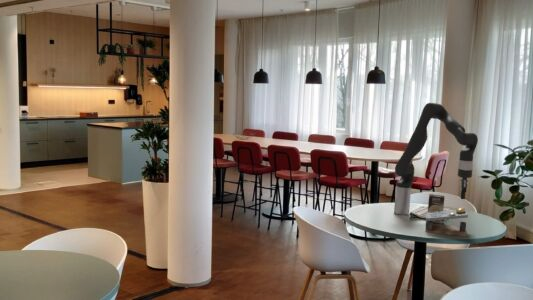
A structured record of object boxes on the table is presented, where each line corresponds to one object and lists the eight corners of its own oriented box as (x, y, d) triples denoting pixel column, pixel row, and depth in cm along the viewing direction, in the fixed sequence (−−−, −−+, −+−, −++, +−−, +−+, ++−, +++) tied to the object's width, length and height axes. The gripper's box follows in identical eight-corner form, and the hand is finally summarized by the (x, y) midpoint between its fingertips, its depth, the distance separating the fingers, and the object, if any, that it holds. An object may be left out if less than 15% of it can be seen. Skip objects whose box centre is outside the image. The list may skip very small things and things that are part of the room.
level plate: (426, 221, 305) (425, 215, 305) (426, 214, 320) (425, 209, 320) (467, 217, 298) (467, 211, 298) (466, 211, 314) (465, 205, 313)
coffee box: (426, 221, 328) (428, 195, 326) (426, 219, 334) (429, 193, 332) (442, 223, 325) (444, 197, 323) (442, 221, 331) (444, 195, 329)
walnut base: (425, 231, 305) (426, 221, 304) (425, 224, 321) (426, 215, 321) (467, 236, 299) (468, 226, 298) (465, 229, 315) (466, 219, 314)
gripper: (457, 166, 311) (455, 196, 313) (458, 169, 298) (456, 200, 300) (471, 167, 309) (468, 197, 311) (473, 170, 296) (470, 201, 298)
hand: (462, 198), depth 306 cm, fingers closed
